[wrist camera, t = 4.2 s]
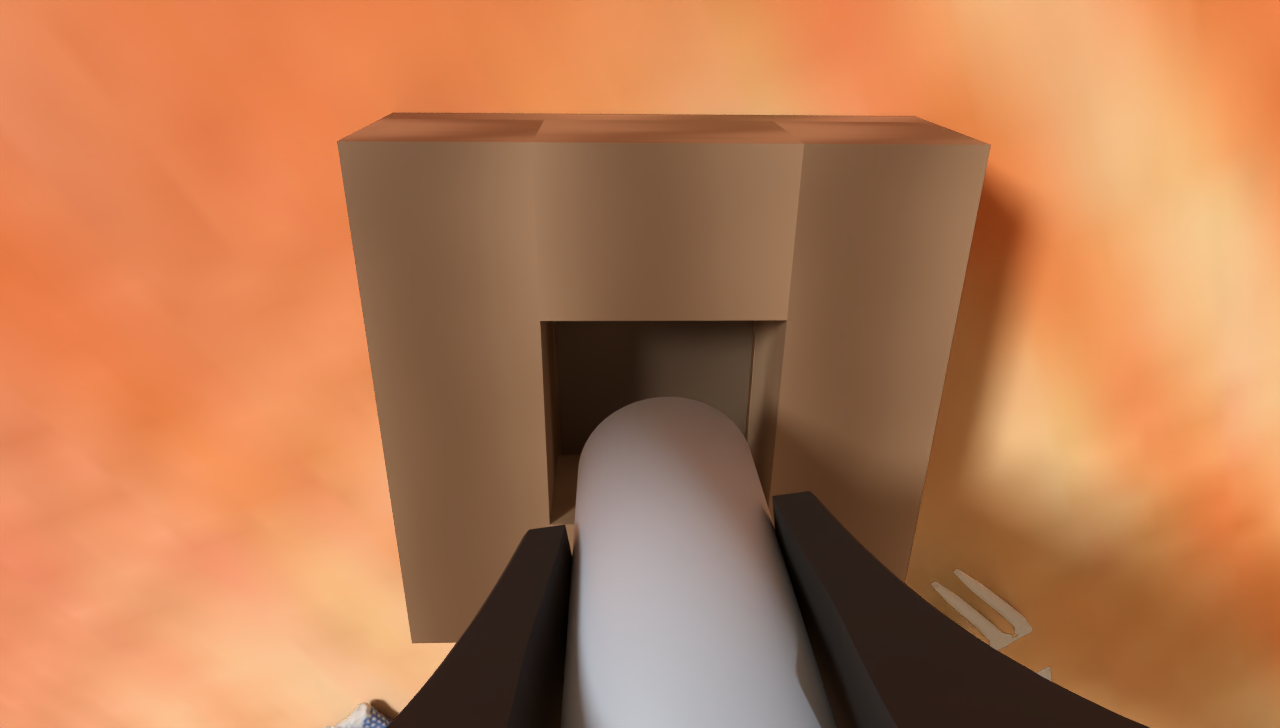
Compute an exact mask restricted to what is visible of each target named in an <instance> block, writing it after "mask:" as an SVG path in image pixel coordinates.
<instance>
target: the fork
mask: <svg viewBox="0 0 1280 728" xmlns="http://www.w3.org/2000/svg"><path fill="white" fill-rule="evenodd" d="M953 573H954V574H955V575H956V576H957V577H958V578H959V579H960V580H961V581H962V582H963V583H964V584H965V585H966V586H967V587H968V588H969V589H970V590H971V591H972V592H973V593H975V594H976V595H977V596H978V597H979V598H981V599H982V600H983V601H984V602H986V603H987V604H988V605H989V606H991V607H992V608H993V609H994V610H996V611H997V612H998V613H999V614H1001V615H1002V616H1003V617H1004V618H1005V619H1006V620H1007V621H1008V622H1010V623H1011V624H1012V625H1013V626H1014V633H1015V634H1018V635H1017V636H1016V637H1012V635H1011V634H1006V633H1003V632H1001V631H1000V630H999V629H998V628H997V627H996V626H995V625H994V624H992V623H991V622H990V621H988V620H987V619H986V618H985V617H983V616H982V615H981V614H980V613H979V612H977V611H976V610H975V609H974V608H972V607H971V606H970V605H969V604H967V603H966V602H965V601H964V600H963V599H961V598H960V597H959V596H957V595H956V594H954V593H953V592H951V591H950V590H948V589H947V588H945V587H944V586H942V585H941V584H939V583H938V582H936V581H934V582H932V583H931V585H932V586H933V588H934V589H935V590H936V591H937V592H938V593H939V594H940V595H941V596H942V597H943V598H944V599H945V600H946V601H947V603H949V604H950V605H951V606H952V607H953V608H954V609H956V610H957V611H958V612H959V613H960V614H961V615H962V616H964V617H965V618H966V619H967V620H968V621H969V622H971V623H972V624H973V625H974V626H975V627H976V628H977V629H978V630H979V631H980V632H981V633H982V634H983V635H984V636H985V637H986V638H987V639H988V640H989V641H990V646H991V647H992V648H994V649H996V650H999V649H1002V648H1004V647H1006V646H1008V645H1009V644H1010V643H1012V642H1014V641H1016V640H1017V639H1019V638H1021V637H1023V636H1025V635H1027V634H1029V633H1031V631H1032V630H1033V629H1032V627H1031V626H1030V624H1029V623H1028V621H1027V620H1026V619H1025V617H1024V616H1023V615H1021V614H1020V613H1019V612H1018V611H1016V610H1015V609H1014V608H1013V607H1011V606H1010V605H1009V604H1007V603H1006V602H1005V601H1003V600H1002V599H1001V598H1000V597H998V596H997V595H996V594H994V593H993V592H992V591H990V590H989V589H988V588H987V587H985V586H984V585H983V584H981V583H980V582H978V581H977V580H975V579H973V578H972V577H970V576H969V575H967V574H965V573H964V572H962V571H961V570H959V569H958V568H957V569H955V570H954V571H953ZM1037 674H1039V675H1040V676H1042V677H1044V678H1046V679H1048V680H1050V681H1051V682H1052V675H1051V669H1050V667H1047V668H1045V669H1042V670H1040V671H1039V672H1037Z"/></svg>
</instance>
